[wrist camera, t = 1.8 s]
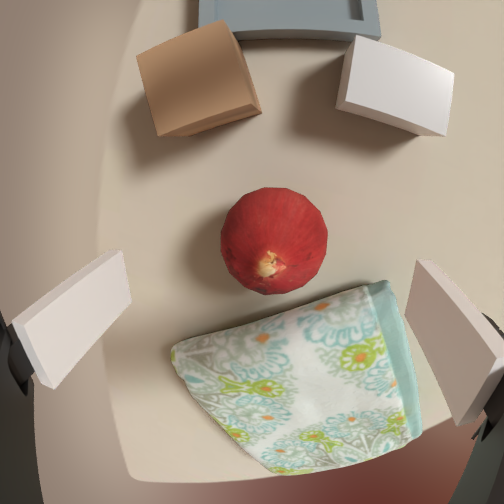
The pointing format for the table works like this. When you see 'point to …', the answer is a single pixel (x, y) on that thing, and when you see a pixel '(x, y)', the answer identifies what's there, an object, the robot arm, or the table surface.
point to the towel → (310, 382)
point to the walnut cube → (197, 81)
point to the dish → (294, 18)
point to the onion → (273, 240)
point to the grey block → (395, 88)
